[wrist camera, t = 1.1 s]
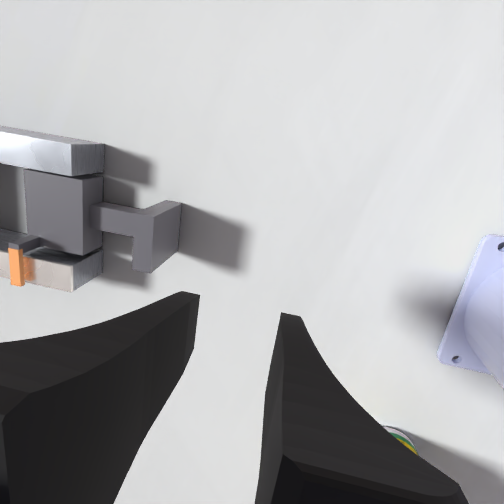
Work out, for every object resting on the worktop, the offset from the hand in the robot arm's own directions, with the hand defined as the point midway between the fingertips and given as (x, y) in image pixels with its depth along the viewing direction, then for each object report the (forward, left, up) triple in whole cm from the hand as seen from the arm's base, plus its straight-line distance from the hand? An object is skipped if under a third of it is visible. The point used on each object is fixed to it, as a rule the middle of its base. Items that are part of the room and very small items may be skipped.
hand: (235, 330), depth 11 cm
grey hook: (+10, +1, -10) cm, 14 cm away
